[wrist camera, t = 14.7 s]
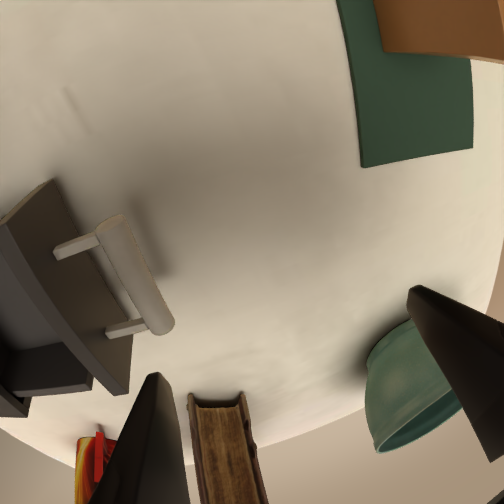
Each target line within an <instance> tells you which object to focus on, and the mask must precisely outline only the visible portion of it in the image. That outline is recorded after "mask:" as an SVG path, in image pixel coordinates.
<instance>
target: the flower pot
mask: <svg viewBox="0 0 504 504" xmlns="http://www.w3.org/2000/svg"><path fill="white" fill-rule="evenodd" d="M367 369H368V372H369V374H368V378H367V383H366V390H365V411H366V418H367V423H368V426H369V430H370V433H371V435H372V437H373V440H374V447H375V450H376V452H377V453H379V454H381V453H386V452H390V451H393V450H396V449H398V448H401V447H403V446H406V445H408V444H410V443H411V442H414V441H416V440H418V439H419V438H421V437H423V436H424V435H426V434H428V433H429V432H431V431H433V430H434V429H435V428H437V427H439V426H440V425H442V424H443V423H444V422H446V421H447V420H448V419H450V418H451V417H452V416H453V415H455V414H456V413H457V412H459V411H460V410H461V409H462V406H461V404H460V402H459V400H458V399H457V397H456V395H455V393H454V391H453V390H452V388H451V386H450V384H449V383H448V381H447V379H446V378H445V376H444V374H443V373H442V371H441V369H440V368H439V366H438V364H437V363H436V361H435V359H434V358H433V356H432V354H431V353H430V351H429V350H428V348H427V346H426V345H425V343H424V341H423V339H422V337H421V335H420V333H419V331H418V329H417V327H416V325H415V323H414V322H413V320H412V319H411V320H409V321H407V322H404V323H403V324H401V325H399V326H398V327H396V328H395V329H393V330H392V331H391V332H389V333H388V334H387V335H386V336H385V337H383V338H382V339H381V340H380V341H379V342H378V343H377V345H376V346H375V347H374V348H373V350H372V351H371V353H370V355H369V357H368V359H367Z"/></svg>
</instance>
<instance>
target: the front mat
mask: <svg viewBox="0 0 504 504" xmlns="http://www.w3.org/2000/svg"><path fill="white" fill-rule="evenodd" d="M336 1H337V5H338V10H339V14H340V18H341V23H342V27H343V32H344V37H345V42H346V47H347V52H348V58H349V64H350V70H351V76H352V83H353V90H354V97H355V105H356V113H357V122H358V132H359V143H360V156H361V167H362V168H368V167H373V166H378V165H383V164H387V163H392V162H397V161H402V160H407V159H413V158H418V157H423V156H429V155H434V154H440V153H446V152H452V151H458V150H464V149H470V148H473V127H474V114H473V86H472V73H471V63H470V59H465V58H456V57H445V56H432V55H422V54H408V53H385V52H383V47H382V41H381V35H380V30H379V25H378V21H377V16H376V12H375V7H374V3H373V0H336Z"/></svg>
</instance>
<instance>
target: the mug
mask: <svg viewBox="0 0 504 504" xmlns="http://www.w3.org/2000/svg"><path fill="white" fill-rule="evenodd" d="M116 443H117V441H114V440H110V439H105V438H104V434H103V433H102V432H96V437H85V438H81V439H79V440H78V441H77V451H76V467H75V504H87V503H88V501H89V499H90V498H91V496H92V494H93V492H94V490H95V488H96V487H97V485H98V483H99V481H100V479H101V477H102V474H103V472H104V470H105V468H106V466H107V463H108V461H109V459H110V456H111V454H112V452H113V449H114V447H115V445H116Z"/></svg>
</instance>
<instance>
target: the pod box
mask: <svg viewBox="0 0 504 504" xmlns="http://www.w3.org/2000/svg"><path fill="white" fill-rule="evenodd" d="M373 3H374V7H375V12H376V16H377V21H378V25H379V30H380V35H381V41H382V47H383V52H385V53H408V54H422V55H432V56H445V57H456V58H465V59H473V60H480V61H487V62H493V63H498V64H504V0H373Z"/></svg>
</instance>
